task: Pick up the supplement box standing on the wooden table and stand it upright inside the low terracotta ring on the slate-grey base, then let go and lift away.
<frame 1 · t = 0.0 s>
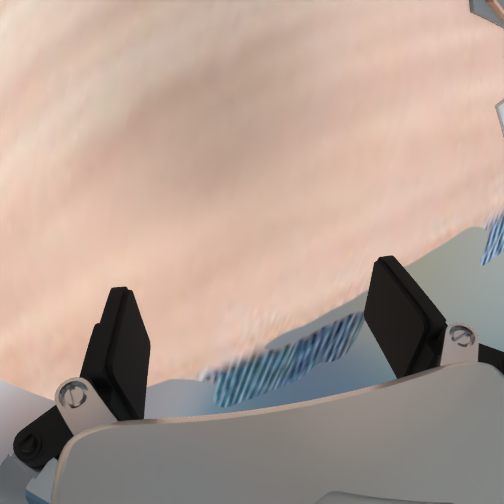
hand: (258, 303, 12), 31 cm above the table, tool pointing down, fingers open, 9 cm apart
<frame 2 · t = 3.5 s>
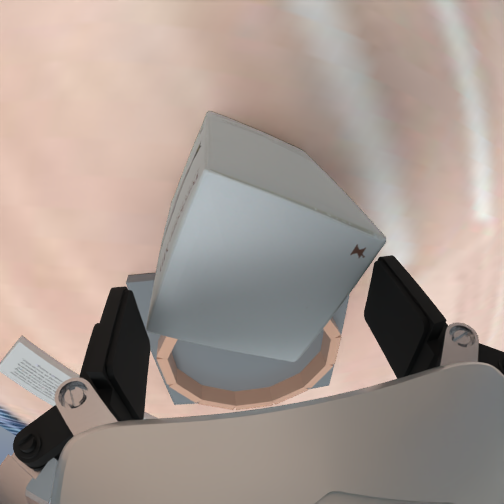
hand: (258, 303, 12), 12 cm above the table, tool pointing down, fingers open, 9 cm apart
plaque: (103, 405, 37), on the table
ring holder: (247, 341, 31), on the table
supplement box: (235, 174, 22), on the table, touching gripper
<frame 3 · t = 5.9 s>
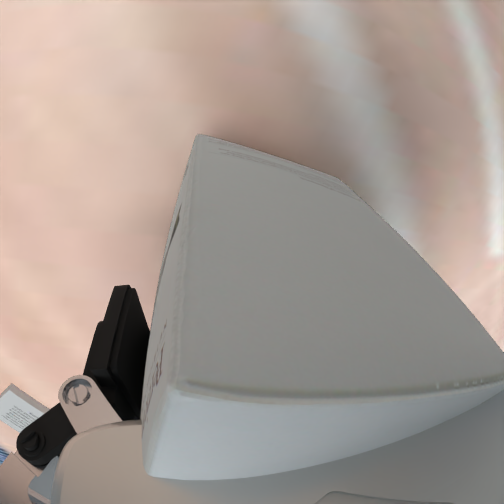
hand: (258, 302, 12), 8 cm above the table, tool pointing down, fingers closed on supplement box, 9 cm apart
plaque: (98, 449, 33), on the table
supplement box: (245, 219, 16), point 3 cm above the table, touching gripper
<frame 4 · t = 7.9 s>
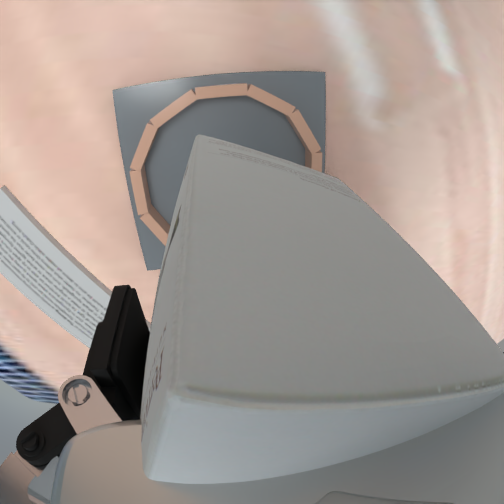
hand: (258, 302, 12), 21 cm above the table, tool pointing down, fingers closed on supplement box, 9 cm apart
plaque: (73, 292, 36), on the table
ring holder: (226, 171, 30), on the table
supplement box: (245, 220, 16), point 15 cm above the table, touching gripper
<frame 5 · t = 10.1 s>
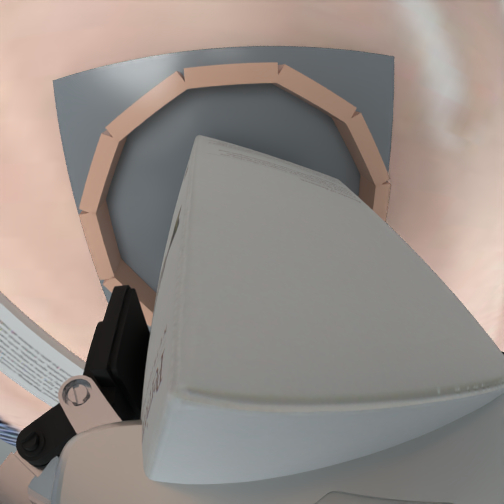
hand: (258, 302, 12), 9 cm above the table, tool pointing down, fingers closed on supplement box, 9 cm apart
plaque: (36, 354, 25), on the table
ring holder: (236, 208, 19), on the table
supplement box: (245, 221, 16), point 4 cm above the table, touching gripper
when the fingers open (7 cm above the table, at t = 11.6 s): supplement box stays where it is, resting on ring holder.
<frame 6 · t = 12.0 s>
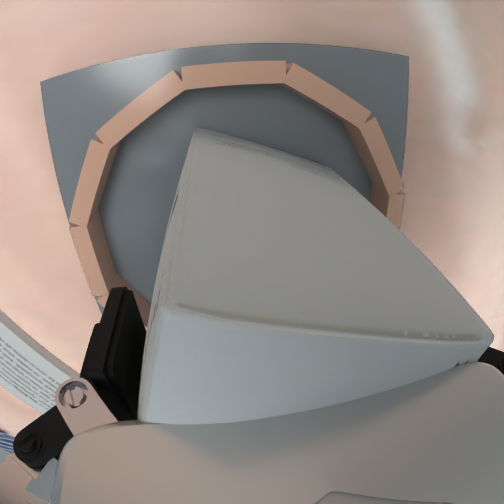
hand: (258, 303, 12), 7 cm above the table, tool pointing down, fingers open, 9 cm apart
plaque: (32, 366, 23), on the table
ring holder: (238, 219, 18), on the table
supplement box: (242, 208, 17), point 1 cm above the table, touching ring holder
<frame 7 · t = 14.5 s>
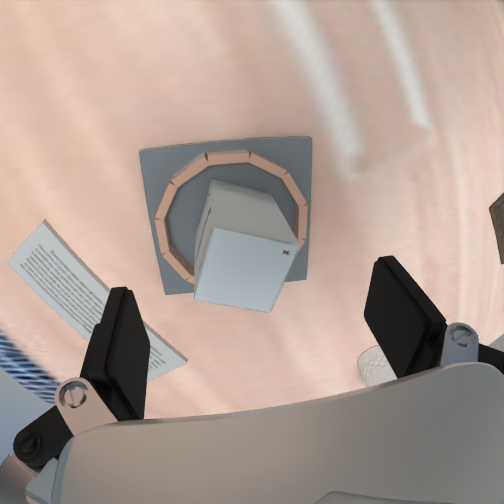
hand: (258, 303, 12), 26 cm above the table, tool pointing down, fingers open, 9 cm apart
plaque: (98, 310, 43), on the table
wooden plank: (501, 229, 47), on the table
white cup: (372, 356, 57), on the table
ring holder: (230, 218, 38), on the table
supplement box: (232, 213, 37), point 1 cm above the table, touching ring holder
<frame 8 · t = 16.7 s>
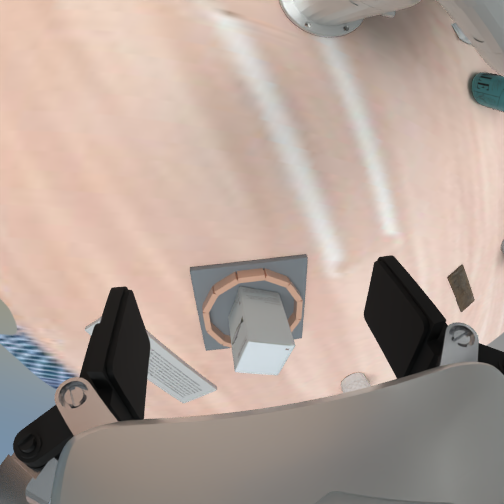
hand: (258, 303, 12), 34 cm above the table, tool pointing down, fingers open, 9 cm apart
plaque: (155, 358, 62), on the table
wooden plank: (460, 287, 65), on the table
white cup: (352, 379, 76), on the table
ring holder: (251, 305, 57), on the table
beverage bottle: (475, 87, 40), on the table
supplement box: (252, 304, 56), point 1 cm above the table, touching ring holder
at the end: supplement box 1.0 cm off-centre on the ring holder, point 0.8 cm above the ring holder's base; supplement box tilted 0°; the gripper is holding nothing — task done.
